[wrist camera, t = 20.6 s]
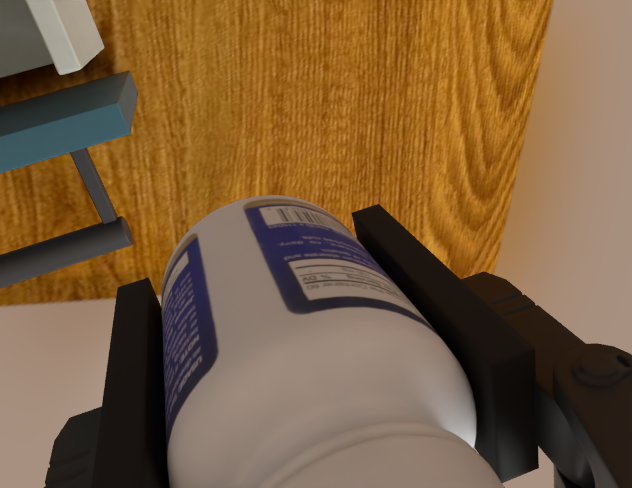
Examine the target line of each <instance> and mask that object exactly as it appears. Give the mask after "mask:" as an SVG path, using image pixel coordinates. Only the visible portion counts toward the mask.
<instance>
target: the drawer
mask: <svg viewBox="0 0 632 488" xmlns="http://www.w3.org/2000/svg"><path fill="white" fill-rule="evenodd" d="M103 49H104V45H103V42H102V40H101V37H100V35H99V32H98V30H97V27H96V25H95V22H94V20H93V17H92V15H91V13H90V10H89V8H88V5H87V3H86V0H0V78H3V77H6V76H10V75H14V74H17V73H21V72H24V71H28V70H32V69H35V68H39V67H42V66H46V65H50V64H53V63H54V65H55V67H56V70H57V72H58V73H59V74H60V75H64V74H67V73H71V72H74V71H78V70H80V69H81V68H83V67H84V66H85V65H86V64H87V63H88V62H89V61H90V60H91V59H92V58H94V57H95V56H96V55H97V54H98V53H99V52H100V51H101V50H103ZM137 96H138V91H137V88H136V86H135V83H134V81H133V78H132V76H131V73H130V71H125V72H121V73H118V74H114V75H111V76H107V77H104V78H100V79H97V80H93V81H90V82H86V83H83V84H79V85H76V86H72V87H69V88H65V89H62V90H58V91H55V92H51V93H48V94H44V95H41V96H37V97H34V98H30V99H27V100H23V101H20V102H16V103H13V104H9V105H6V106H2V107H0V173H3V172H6V171H10V170H13V169H16V168H20V167H23V166H26V165H30V164H33V163H36V162H40V161H43V160H46V159H50V158H53V157H56V156H60V155H63V154H66V153H70V154H71V156H72V158H73V161H74V163H75V165H76V167H77V169H78V171H79V173H80V175H81V177H82V180H83V182H84V184H85V186H86V188H87V190H88V192H89V194H90V196H91V199H92V201H93V203H94V205H95V207H96V209H97V211H98V213H99V216H100V218H101V220H102V223H98V224H95V225H92V226H89V227H86V228H83V229H80V230H77V231H74V232H70V233H67V234H64V235H61V236H58V237H55V238H52V239H49V240H45V241H42V242H39V243H36V244H33V245H30V246H27V247H24V248H21V249H17V250H14V251H11V252H8V253H5V254H2V255H0V288H3V287H6V286H9V285H12V284H15V283H18V282H21V281H24V280H27V279H30V278H33V277H36V276H39V275H43V274H46V273H49V272H52V271H55V270H58V269H61V268H64V267H67V266H70V265H73V264H76V263H79V262H82V261H85V260H88V259H91V258H94V257H97V256H100V255H103V254H106V253H109V252H112V251H115V250H118V249H121V248H125V247H128V246H131V245H132V244H133V238H132V234H131V231H130V228H129V226H128V224H127V222H126V220H125V219H124V218H123V217H122V216H120V217H117V214H116V212H115V209H114V207H113V205H112V203H111V201H110V198H109V196H108V194H107V192H106V190H105V187H104V185H103V183H102V181H101V179H100V177H99V174H98V172H97V170H96V168H95V166H94V163H93V161H92V159H91V157H90V155H89V152H88V150H87V148H86V147H89V146H93V145H96V144H99V143H103V142H106V141H109V140H113V139H116V138H119V137H123V136H126V135H129V134H130V132H131V127H132V122H133V116H134V111H135V106H136V101H137Z"/></svg>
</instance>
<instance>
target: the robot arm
mask: <svg viewBox="0 0 632 488" xmlns="http://www.w3.org/2000/svg"><path fill="white" fill-rule="evenodd" d="M352 217H353V222H354V226H355V231H356V236H357V240H358V241H359V243H360V244H361V245H362V246H363V247H364V248H365V250H366V251H367V252H368V253H369V254H370V255H371V256H372V258H373V259H374V260H375V261H376V262H377V263H378V265H379V266H380V267H381V268H382V269H383V270H384V271H385V273H386V274H387V275H388V276H389V277H390V278H391V280H392V281H393V282H394V283H395V284H396V285H397V287H398V288H399V289H400V290H401V291H402V293H403V294H404V295H405V296H406V297H407V298H408V299H409V301H410V302H411V303H412V304H413V305H414V306H415V308H416V309H417V310H418V311H419V312H420V314H421V315H422V316H423V317H424V318H425V319H426V320H427V322H428V323H429V324H430V325H431V326H432V327H433V329H434V330H435V331H436V332H437V333H438V335H439V336H440V337H441V339H442V340H443V341H444V343H445V344H446V345H447V347H448V348H449V349H450V351H451V352H452V353H453V355H454V356H455V357H456V359H457V360H458V361H459V363H460V365H461V366H462V368H463V370H464V372H465V374H466V376H467V378H468V381H469V383H470V386H471V389H472V392H473V396H474V400H475V406H476V419H477V424H476V439H475V445H474V447H475V449H476V450H477V452H478V453H479V455H480V456H481V457H482V458H483V459H484V460H485V461H486V462H487V463H488V464H489V465H490V466H491V468H492V469H493V470H494V472H495V473H496V475H497V476H498V478H499V480H500V481H501V483H504V482H506V481H508V480H511V479H513V478H516V477H518V476H521V475H523V474H525V473H528V472H530V471H533V470H535V469H538V468H539V464H538V446H539V447H540V448H541V449H542V450H543V452H544V453H545V454H546V455H547V456H548V458H549V459H550V460H551V461H552V462H553V463H554V488H632V355H631V354H629V353H627V352H625V351H623V350H620V349H618V348H616V347H613V346H607V345H602V344H585V343H584V342H583V341H582V340H580V339H579V338H578V337H577V336H575V335H574V334H573V333H572V332H571V331H569V330H568V329H567V328H566V327H564V326H563V325H562V324H561V323H559V322H558V321H557V320H556V319H554V318H553V317H552V316H551V315H549V314H548V313H547V312H545V311H544V310H543V309H542V308H541V307H539V306H538V305H537V306H536V305H535V303H534V302H533V301H532V300H531V299H529V298H528V297H527V296H526V295H522V292H521V291H519V290H518V289H517V288H516V287H515V286H513V285H512V284H511V283H510V282H508V281H507V280H506V279H503V278H500V277H497V276H495V275H492V274H489V273H487V272H481V273H478V274H475V275H472V276H469V277H467V278H464V279H461V280H460V279H459V278H458V277H457V276H456V275H455V274H454V273H453V272H452V271H450V270H449V269H448V268H447V267H446V266H445V265H444V264H443V263H442V262H441V261H440V260H439V259H438V258H436V257H435V256H434V255H433V254H432V253H431V252H430V251H429V250H428V249H427V248H426V247H425V246H423V245H422V244H421V243H420V242H419V241H418V240H417V239H416V238H415V237H414V236H413V235H412V234H411V233H409V232H408V231H407V230H406V229H405V228H404V227H403V226H402V225H401V224H400V223H399V222H398V221H396V220H395V219H394V218H393V217H392V216H391V215H390V214H389V213H388V212H387V211H386V210H385V209H383V208H382V207H381V206H380V205H379V204H378V205H375V206H371V207H368V208H365V209H362V210H359V211H356V212H353V213H352ZM161 311H162V309H161V306H160V303H159V301H158V299H157V296H156V294H155V292H154V289H153V287H152V285H151V282H150V280H149V278H146V279H143V280H140V281H136V282H133V283H130V284H127V285H124V286H121V287H118V290H117V297H116V305H115V312H114V320H113V328H112V336H111V343H110V350H109V357H108V365H107V372H106V380H105V388H104V395H103V403H102V407H99V408H96V409H93V410H91V411H88V412H85V413H82V414H79V415H76V416H74V417H71V418H69V420H68V421H67V423H66V424H65V426H64V427H63V429H62V430H61V432H60V433H59V435H58V436H57V438H56V439H55V441H54V445H53V449H52V454H51V458H50V462H49V464H50V468H48V471H47V475H46V480H45V484H46V487H44V488H170V487H169V476H168V467H167V454H166V423H165V396H164V367H163V335H162V315H161Z"/></svg>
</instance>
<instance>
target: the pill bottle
mask: <svg viewBox="0 0 632 488" xmlns="http://www.w3.org/2000/svg"><path fill="white" fill-rule="evenodd" d="M161 309H162V311H161V315H162V335H163V367H164V396H165V423H166V454H167V467H168V476H169V487H170V488H505V487H504V486H503V484H502V483H501V481H500V480H499V478H498V476H497V475H496V473H495V472H494V470H493V469H492V468H491V466H490V465H489V464H488V463H487V462H486V461H485V460H484V459H483V458H482V457H481V456H480V455H479V454H478V453H477V452H476V451H475V450H474V445H475V439H476V424H477V419H476V406H475V400H474V396H473V392H472V389H471V386H470V383H469V381H468V378H467V376H466V374H465V372H464V370H463V368H462V366H461V365H460V363H459V361H458V360H457V359H456V357H455V356H454V355H453V353H452V352H451V351H450V349H449V348H448V347H447V345H446V344H445V343H444V341H443V340H442V339H441V337H440V336H439V335H438V333H437V332H436V331H435V330H434V329H433V327H432V326H431V325H430V324H429V323H428V322H427V320H426V319H425V318H424V317H423V316H422V315H421V314H420V312H419V311H418V310H417V309H416V308H415V306H414V305H413V304H412V303H411V302H410V301H409V299H408V298H407V297H406V296H405V295H404V294H403V293H402V291H401V290H400V289H399V288H398V287H397V285H396V284H395V283H394V282H393V281H392V280H391V278H390V277H389V276H388V275H387V274H386V273H385V271H384V270H383V269H382V268H381V267H380V266H379V265H378V263H377V262H376V261H375V260H374V259H373V258H372V256H371V255H370V254H369V253H368V252H367V251H366V250H365V248H364V247H363V246H362V245H361V244H360V243H359V241H358V240H357V239H356V238H355V237H354V236H353V234H352V233H351V232H350V231H349V230H348V229H347V228H346V227H345V226H344V225H343V224H342V223H341V222H340V221H339V220H338V219H337V218H336V217H335V216H333V215H332V214H331V213H329V212H328V211H326V210H325V209H323V208H321V207H319V206H317V205H315V204H313V203H311V202H308V201H305V200H302V199H299V198H294V197H289V196H280V195H265V196H256V197H251V198H246V199H242V200H239V201H236V202H233V203H230V204H227V205H225V206H223V207H220V208H218V209H216V210H215V211H213V212H211V213H210V214H208V215H207V216H205V217H204V218H203V219H201V220H200V221H199V222H198V223H196V224H195V225H194V226H193V227H192V228H191V229H190V230H189V231H188V232H187V233H186V234H185V236H184V237H183V238H182V239H181V241H180V242H179V244H178V245H177V247H176V248H175V250H174V252H173V254H172V256H171V258H170V260H169V262H168V265H167V267H166V270H165V274H164V278H163V284H162V305H161Z"/></svg>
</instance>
